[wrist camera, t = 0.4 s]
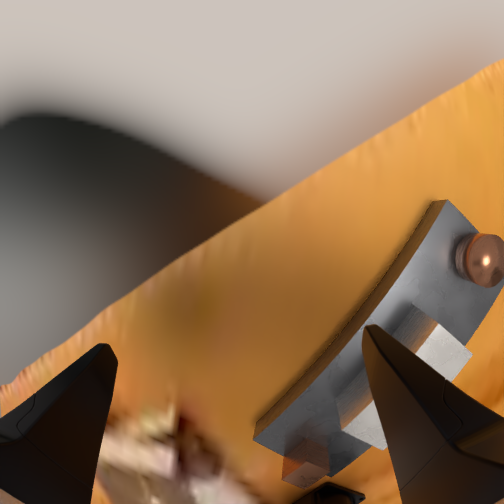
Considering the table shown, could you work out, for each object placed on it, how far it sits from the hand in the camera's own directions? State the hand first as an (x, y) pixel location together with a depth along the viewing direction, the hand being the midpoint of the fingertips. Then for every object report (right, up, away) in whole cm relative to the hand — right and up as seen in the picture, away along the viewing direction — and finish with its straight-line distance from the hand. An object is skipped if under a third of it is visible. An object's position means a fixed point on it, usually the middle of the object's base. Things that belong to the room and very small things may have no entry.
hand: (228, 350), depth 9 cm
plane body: (+12, -5, +12) cm, 17 cm away
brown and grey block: (+11, -5, +10) cm, 16 cm away
